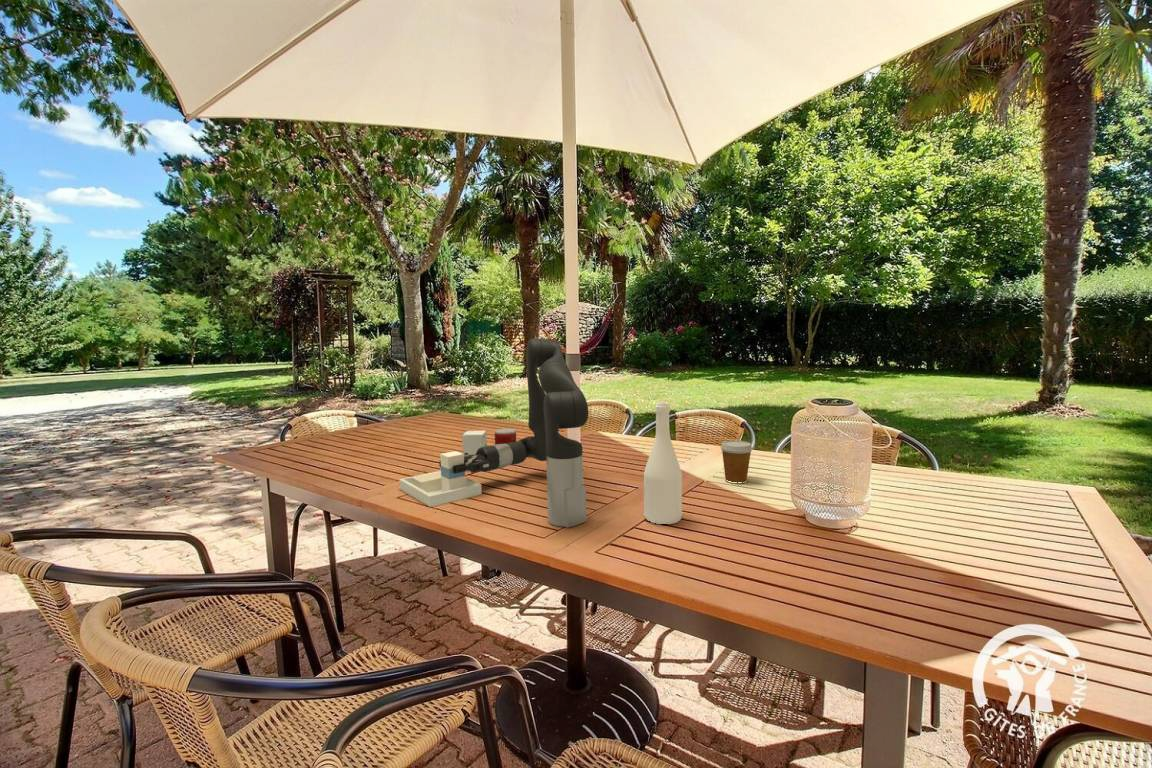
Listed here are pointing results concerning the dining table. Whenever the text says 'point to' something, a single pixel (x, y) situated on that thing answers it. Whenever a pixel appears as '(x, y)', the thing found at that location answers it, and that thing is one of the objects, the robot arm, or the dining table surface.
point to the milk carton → (447, 476)
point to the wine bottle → (662, 475)
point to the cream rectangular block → (428, 482)
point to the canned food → (505, 436)
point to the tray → (440, 492)
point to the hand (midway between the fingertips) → (446, 467)
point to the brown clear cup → (736, 460)
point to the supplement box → (473, 441)
